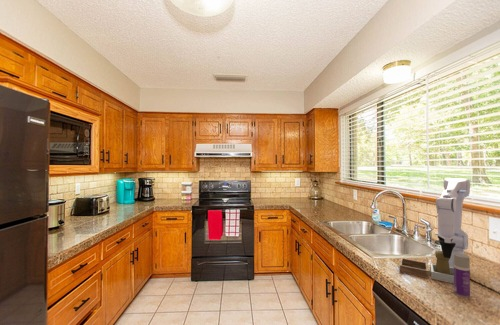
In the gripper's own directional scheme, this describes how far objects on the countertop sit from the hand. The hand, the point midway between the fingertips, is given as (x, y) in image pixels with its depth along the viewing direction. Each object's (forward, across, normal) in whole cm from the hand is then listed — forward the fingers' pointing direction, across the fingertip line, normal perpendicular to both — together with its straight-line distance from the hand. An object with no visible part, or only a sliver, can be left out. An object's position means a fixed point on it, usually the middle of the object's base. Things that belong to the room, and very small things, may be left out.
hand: (446, 254), depth 108 cm
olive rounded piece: (+10, 0, -1) cm, 10 cm away
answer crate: (+10, 0, 0) cm, 10 cm away
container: (+10, +15, +4) cm, 18 cm away
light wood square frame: (+10, 0, -12) cm, 16 cm away
